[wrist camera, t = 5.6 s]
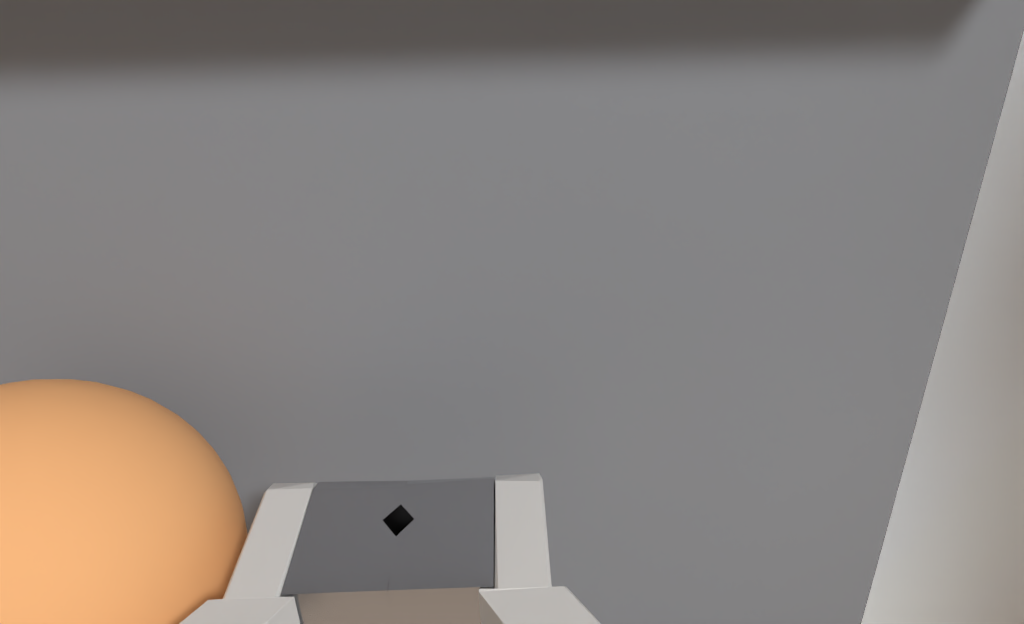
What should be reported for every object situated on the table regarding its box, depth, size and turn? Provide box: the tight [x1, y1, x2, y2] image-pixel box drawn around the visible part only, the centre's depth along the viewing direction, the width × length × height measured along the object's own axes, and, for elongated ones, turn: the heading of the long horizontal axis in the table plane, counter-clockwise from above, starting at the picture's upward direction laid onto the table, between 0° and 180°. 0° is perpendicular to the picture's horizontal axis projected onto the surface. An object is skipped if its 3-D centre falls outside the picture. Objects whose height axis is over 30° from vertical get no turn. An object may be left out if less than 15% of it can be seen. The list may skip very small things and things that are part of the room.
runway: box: [0, 0, 1024, 624], centre depth 10 cm, size 22×14×4 cm, turn 91°
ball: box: [0, 379, 248, 624], centre depth 8 cm, size 4×4×4 cm
